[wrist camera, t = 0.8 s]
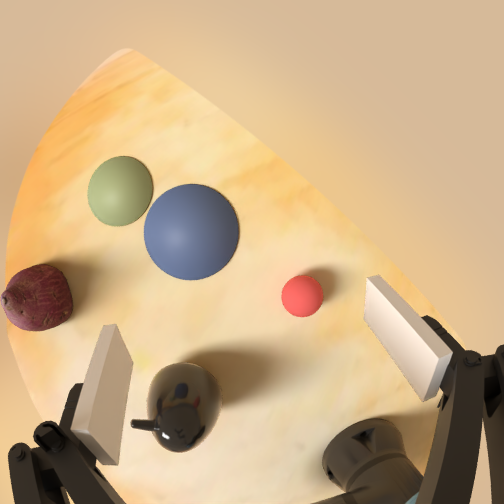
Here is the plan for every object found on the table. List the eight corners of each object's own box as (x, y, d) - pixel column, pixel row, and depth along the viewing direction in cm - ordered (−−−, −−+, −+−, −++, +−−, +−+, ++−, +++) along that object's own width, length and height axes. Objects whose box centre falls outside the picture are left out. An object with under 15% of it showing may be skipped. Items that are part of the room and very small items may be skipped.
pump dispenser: (161, 343, 43) (134, 392, 28) (231, 364, 44) (232, 421, 29) (148, 399, 44) (122, 458, 28) (212, 418, 45) (208, 483, 29)
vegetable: (55, 253, 44) (11, 228, 30) (88, 305, 44) (48, 299, 30) (14, 291, 42) (-38, 279, 27) (44, 343, 41) (-5, 349, 27)
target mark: (255, 213, 43) (256, 213, 43) (208, 296, 43) (208, 297, 43) (173, 168, 42) (173, 167, 42) (128, 250, 42) (128, 250, 42)
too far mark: (165, 175, 42) (164, 175, 42) (130, 239, 42) (130, 239, 42) (109, 145, 41) (109, 145, 41) (77, 206, 41) (76, 206, 41)
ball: (323, 284, 44) (336, 291, 39) (304, 318, 44) (314, 329, 39) (291, 265, 44) (299, 270, 38) (271, 300, 44) (277, 309, 39)
